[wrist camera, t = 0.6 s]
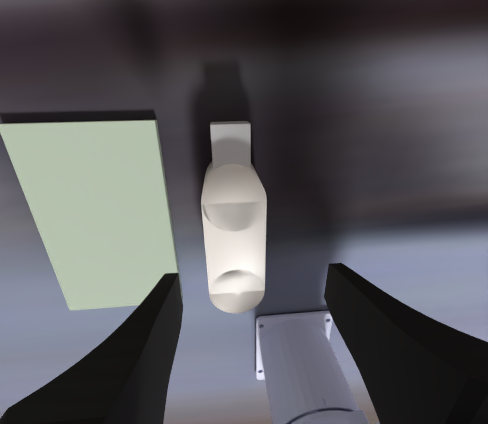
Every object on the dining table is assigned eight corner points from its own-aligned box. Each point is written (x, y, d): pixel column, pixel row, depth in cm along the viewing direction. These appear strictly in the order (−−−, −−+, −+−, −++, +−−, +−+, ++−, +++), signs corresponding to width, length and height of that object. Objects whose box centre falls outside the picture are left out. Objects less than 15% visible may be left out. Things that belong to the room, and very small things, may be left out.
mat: (182, 297, 25) (182, 301, 24) (73, 305, 24) (69, 310, 23) (156, 119, 18) (154, 120, 17) (4, 123, 17) (-3, 124, 17)
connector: (255, 270, 24) (264, 310, 20) (212, 273, 24) (211, 315, 19) (256, 118, 19) (268, 126, 14) (200, 120, 18) (194, 128, 14)
